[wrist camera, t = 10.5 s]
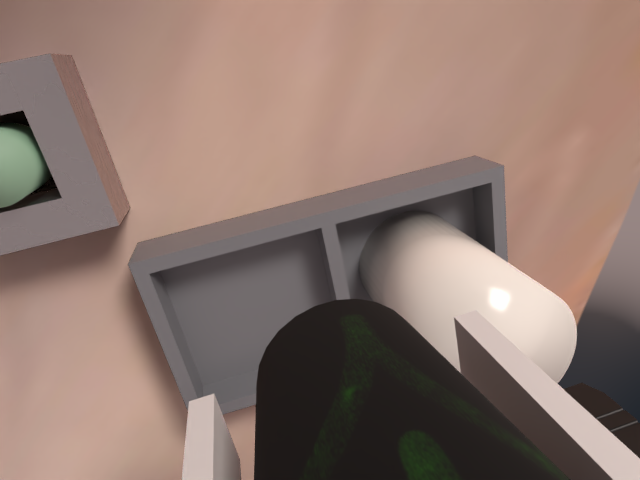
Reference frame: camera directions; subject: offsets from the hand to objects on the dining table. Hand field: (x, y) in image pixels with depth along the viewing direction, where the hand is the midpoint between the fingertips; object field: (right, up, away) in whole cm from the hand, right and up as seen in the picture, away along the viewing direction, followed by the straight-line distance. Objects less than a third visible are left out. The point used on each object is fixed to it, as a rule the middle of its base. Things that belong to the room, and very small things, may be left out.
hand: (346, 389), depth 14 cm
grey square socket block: (-18, +10, +12) cm, 24 cm away
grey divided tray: (0, +2, +19) cm, 19 cm away
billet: (+6, +3, +19) cm, 20 cm away
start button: (-18, +9, +11) cm, 23 cm away
